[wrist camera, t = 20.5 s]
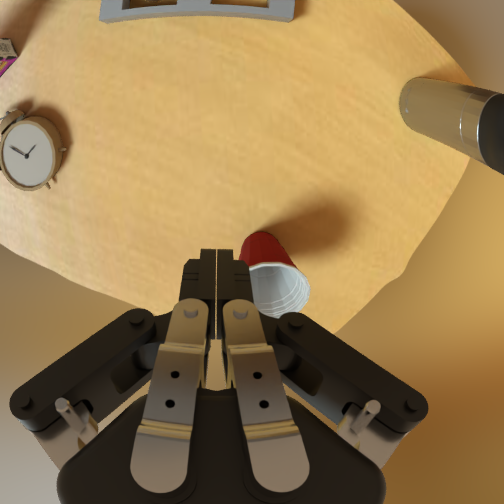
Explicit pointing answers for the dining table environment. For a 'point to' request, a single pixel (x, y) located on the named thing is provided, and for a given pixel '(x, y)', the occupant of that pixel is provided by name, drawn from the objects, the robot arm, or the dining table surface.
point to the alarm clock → (29, 151)
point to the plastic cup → (273, 276)
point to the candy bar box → (6, 54)
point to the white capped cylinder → (153, 1)
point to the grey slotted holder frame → (195, 10)
